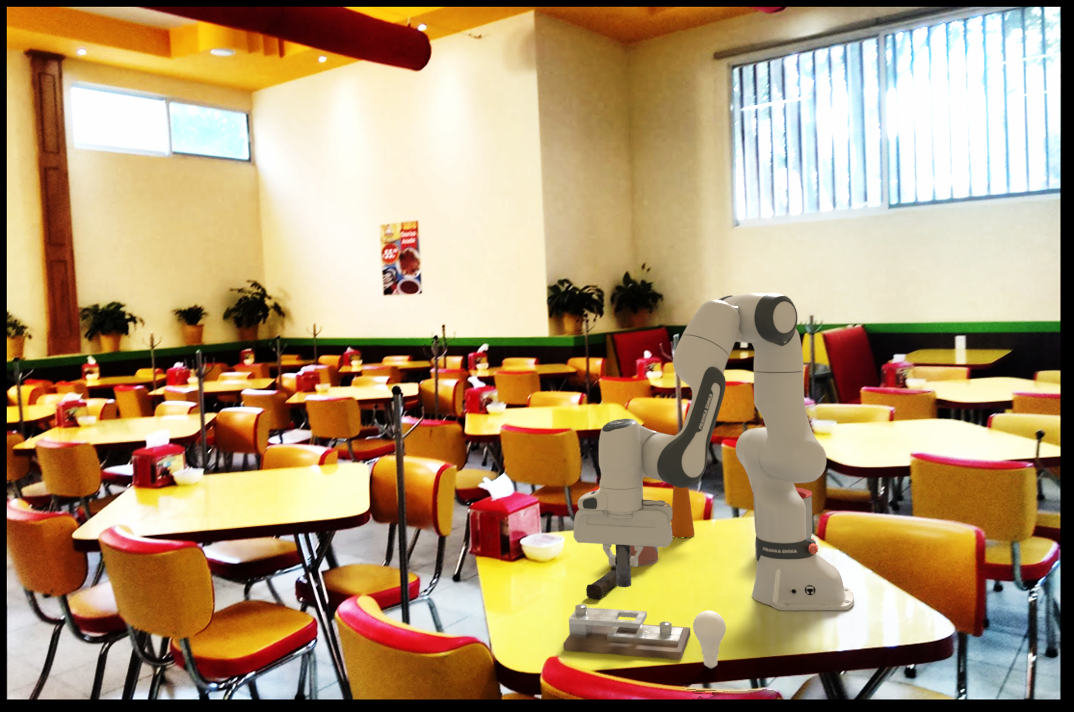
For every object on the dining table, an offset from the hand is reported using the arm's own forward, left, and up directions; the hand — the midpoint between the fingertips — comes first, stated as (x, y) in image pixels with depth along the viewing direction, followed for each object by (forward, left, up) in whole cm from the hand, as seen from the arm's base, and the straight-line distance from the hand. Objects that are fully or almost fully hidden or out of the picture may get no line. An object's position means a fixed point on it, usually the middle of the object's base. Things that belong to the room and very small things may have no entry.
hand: (623, 565), depth 178 cm
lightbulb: (-18, +9, -17) cm, 26 cm away
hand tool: (+12, -33, -17) cm, 39 cm away
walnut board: (0, 0, -16) cm, 16 cm away
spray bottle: (-1, -81, -17) cm, 83 cm away
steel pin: (0, 0, -4) cm, 4 cm away
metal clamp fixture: (0, 0, -15) cm, 15 cm away
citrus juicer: (-29, -66, -17) cm, 74 cm away
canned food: (+9, -56, -17) cm, 59 cm away
